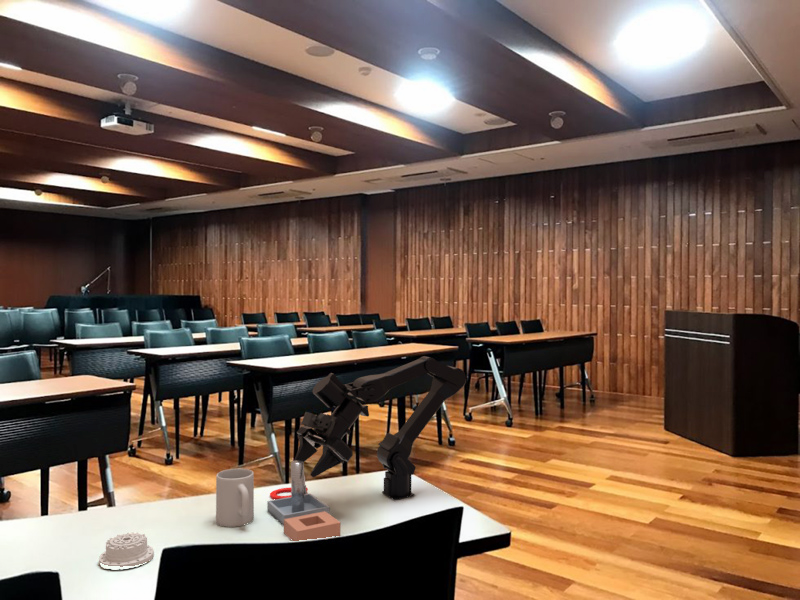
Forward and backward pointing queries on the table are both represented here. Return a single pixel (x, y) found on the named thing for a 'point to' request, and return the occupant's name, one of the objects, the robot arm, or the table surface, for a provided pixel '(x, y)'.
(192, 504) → the table surface
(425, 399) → the robot arm
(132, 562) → the mechanical component
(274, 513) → the tray
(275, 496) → the tow hook
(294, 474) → the pin
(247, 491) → the mug
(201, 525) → the table surface
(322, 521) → the block
